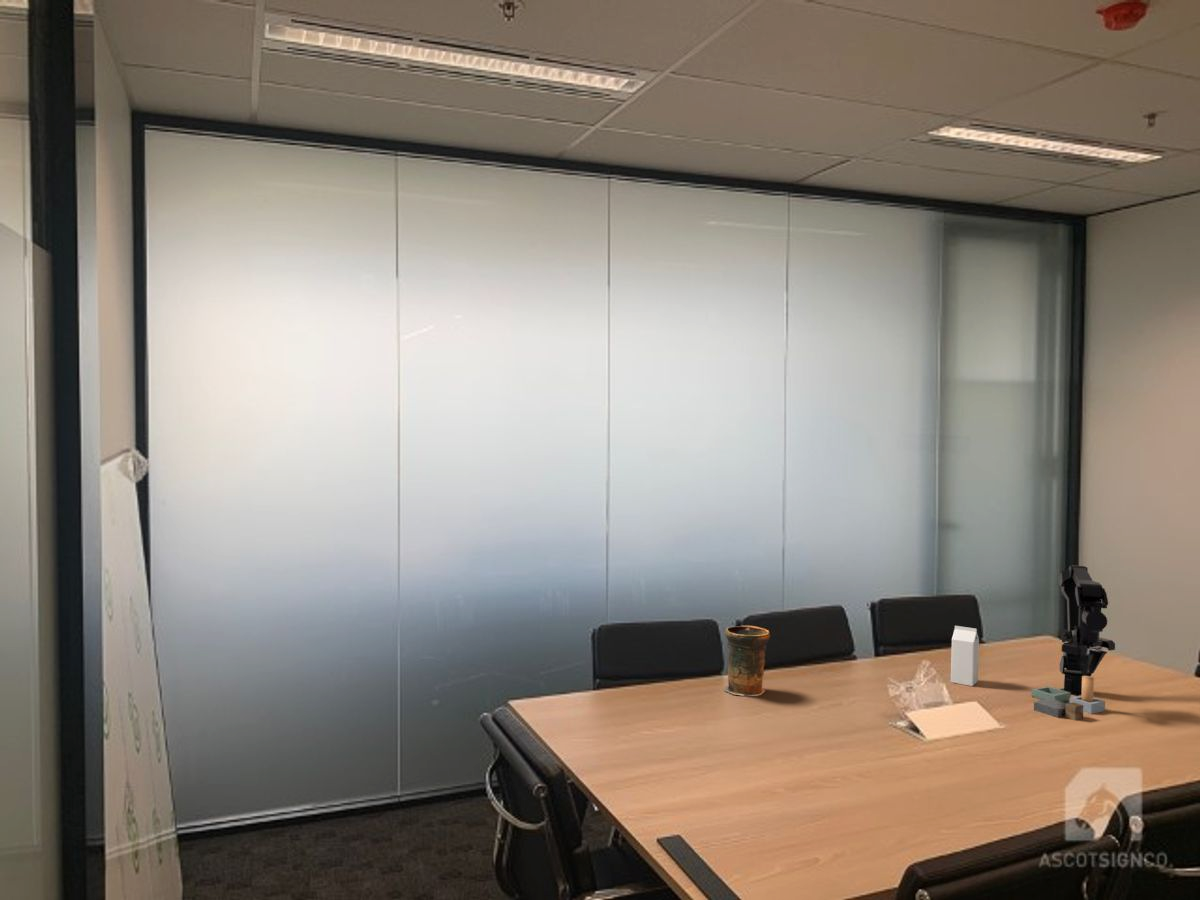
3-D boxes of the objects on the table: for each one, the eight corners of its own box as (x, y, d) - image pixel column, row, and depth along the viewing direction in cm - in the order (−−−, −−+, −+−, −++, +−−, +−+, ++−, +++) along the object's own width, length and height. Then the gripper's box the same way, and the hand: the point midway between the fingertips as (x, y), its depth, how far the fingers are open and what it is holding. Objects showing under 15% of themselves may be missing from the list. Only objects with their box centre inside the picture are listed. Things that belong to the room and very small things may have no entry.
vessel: (769, 699, 274) (770, 635, 274) (723, 696, 276) (725, 633, 276) (767, 686, 288) (769, 626, 288) (724, 683, 291) (725, 624, 290)
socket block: (1082, 704, 274) (1083, 695, 274) (1104, 710, 268) (1105, 701, 268) (1069, 707, 271) (1069, 697, 271) (1091, 713, 265) (1091, 704, 265)
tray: (1047, 693, 286) (1047, 686, 286) (1070, 700, 279) (1070, 692, 279) (1031, 696, 282) (1031, 689, 282) (1054, 703, 275) (1054, 695, 275)
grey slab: (1050, 708, 271) (1050, 698, 271) (1074, 715, 264) (1074, 705, 264) (1033, 711, 268) (1033, 701, 268) (1057, 719, 261) (1058, 709, 261)
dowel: (1085, 707, 272) (1086, 675, 272) (1095, 709, 269) (1096, 677, 269) (1078, 708, 270) (1079, 676, 270) (1088, 711, 268) (1089, 679, 267)
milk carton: (972, 686, 292) (973, 630, 292) (950, 682, 297) (951, 627, 296) (977, 682, 298) (979, 627, 298) (956, 678, 302) (957, 624, 302)
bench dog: (1073, 715, 263) (1073, 702, 263) (1083, 718, 261) (1083, 705, 260) (1065, 717, 261) (1065, 704, 261) (1074, 720, 259) (1075, 706, 259)
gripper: (1082, 616, 281) (1081, 664, 281) (1045, 621, 272) (1044, 670, 272) (1116, 623, 271) (1115, 672, 271) (1080, 628, 262) (1078, 679, 262)
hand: (1087, 673), depth 270 cm, fingers open, 3 cm apart
